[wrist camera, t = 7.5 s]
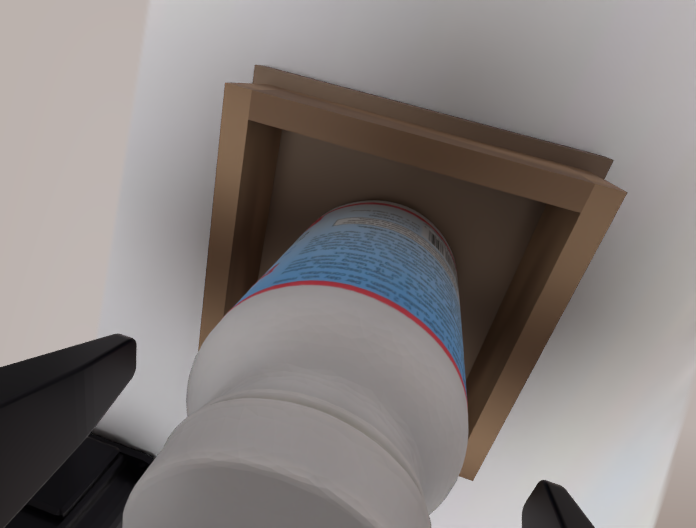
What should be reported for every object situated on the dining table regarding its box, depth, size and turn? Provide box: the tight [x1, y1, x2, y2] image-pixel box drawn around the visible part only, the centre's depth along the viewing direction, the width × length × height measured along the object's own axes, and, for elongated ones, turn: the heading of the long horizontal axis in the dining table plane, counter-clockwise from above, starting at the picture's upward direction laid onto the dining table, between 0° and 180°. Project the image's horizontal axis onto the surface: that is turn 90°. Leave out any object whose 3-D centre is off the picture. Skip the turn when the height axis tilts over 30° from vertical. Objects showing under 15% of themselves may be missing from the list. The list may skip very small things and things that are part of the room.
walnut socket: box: [198, 65, 627, 481], centre depth 15 cm, size 12×12×4 cm
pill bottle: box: [122, 200, 468, 528], centre depth 11 cm, size 6×6×11 cm
